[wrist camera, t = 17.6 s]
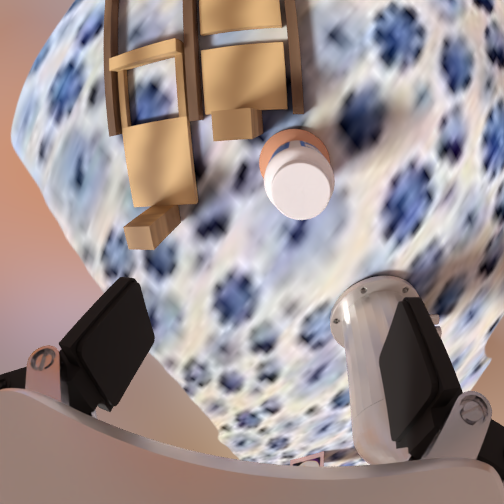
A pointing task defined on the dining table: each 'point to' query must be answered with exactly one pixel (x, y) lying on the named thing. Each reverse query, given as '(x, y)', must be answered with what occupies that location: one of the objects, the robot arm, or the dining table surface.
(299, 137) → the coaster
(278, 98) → the tan wooden block
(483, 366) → the dining table surface
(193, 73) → the lane rails
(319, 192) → the pill bottle
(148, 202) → the slat bottle lane
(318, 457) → the greeting card
